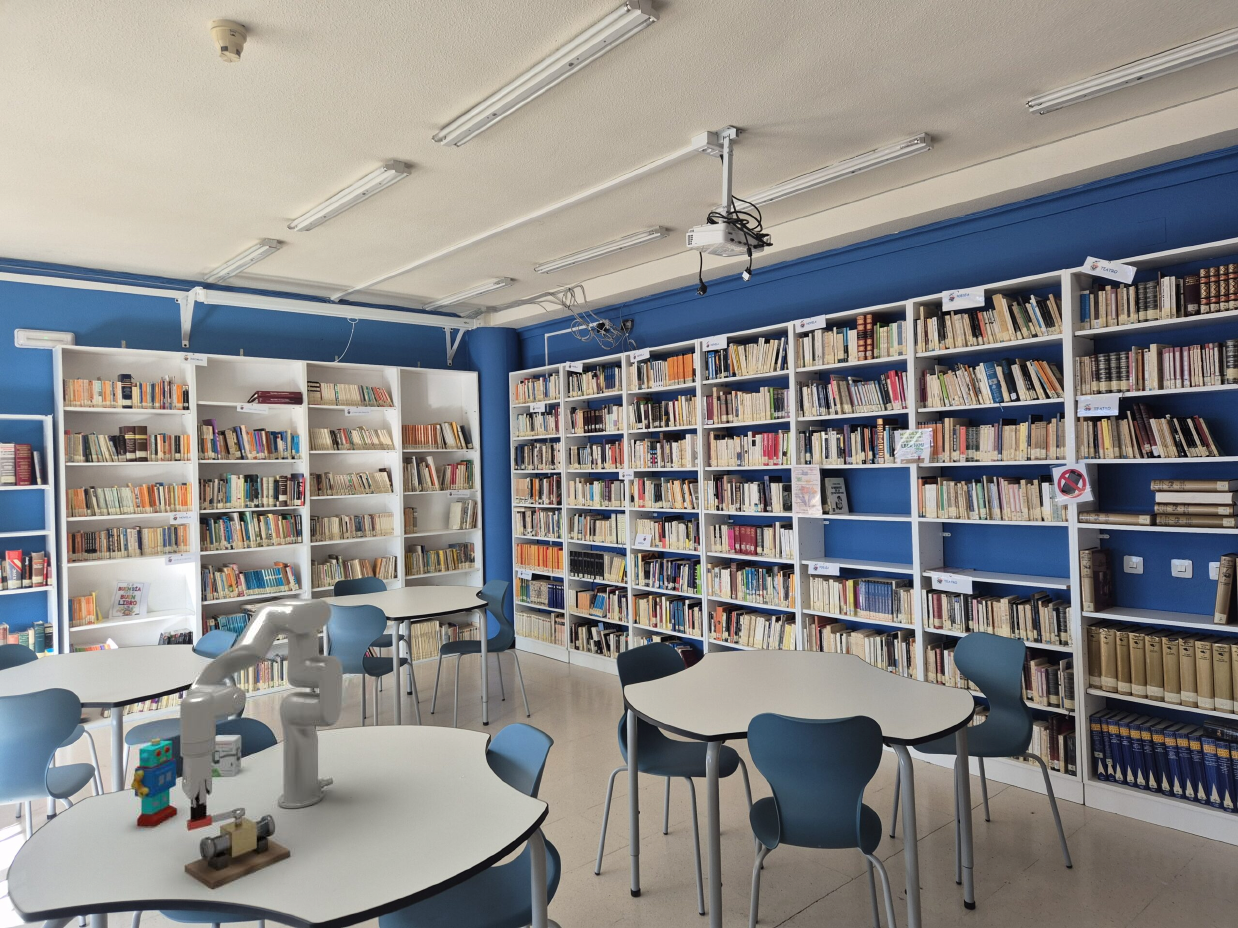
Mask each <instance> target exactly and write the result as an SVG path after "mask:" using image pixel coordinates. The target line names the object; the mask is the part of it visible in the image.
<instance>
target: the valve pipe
mask: <svg viewBox="0 0 1238 928" xmlns="http://www.w3.org/2000/svg"><path fill="white" fill-rule="evenodd" d="M275 832H276V823H275V820H274V818H273V816H272V815H271V814H266V815H263V816H262V817H261V818H260V819H259V820H256V821H252V820H251V819H249V818H247V817H245V816H242V817H239V818H234V820H233V821H231V822H228V823H224V824H222V825H220V826H219V835H216V836H214V837H213V836H206V837H203V838H201V840H200V842H199V853H200V856H201V859H202V858H203V860H204V861H208V866H210V867H212V868H213V869H215V870H217V871H219V870H221V869H224V868H226V867H228V856H230V857H232V858H233V857H235V856H238V855H240V854H243V853H245V852H248V851H250V850H252V851H254V852H255V853H257V854H261V853H263V852H266V851H268V839H269V837H271V836H274V834H275Z"/></svg>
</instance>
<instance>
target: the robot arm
mask: <svg viewBox="0 0 1238 928" xmlns="http://www.w3.org/2000/svg"><path fill="white" fill-rule="evenodd" d="M331 616H332V609H331V605H330V604H329V602H328V601H326V600H324V599H321V598H294V597H293V598H282V599H279V600H277V601H275V602H274V603H266V604H263V605H260V606H259V607H258V608H257V609H256V610H255V612H254V613H253V615H252V616H251V618H250V620H249V621H248V623H247V624H246V626H245V628H244V629H243V631H242V632H241V634H240V636H239V637H238V639H237V640H236V642H235V644H234V645H233V646H232V647H231V648H229V649H227V650H226V651H224V652H223V653H221V654H220V655H218V656H217V657H216V658H214V659H213V660H211V661H210V662H209V663H207V664H206V665H205V666H204V667H203V668H202V669H201V670H200V672H199V673H198V674H197V676H196V677H195V679H194V680H193V682H192V684H191V686H190V687H189V689H188V691H187V693H186V694H185V695H186V696H185V697H183V698H182V699H181V701H180V707H179V710H180V711H179V712H180V714H179V717H180V718H179V720H180V721H179V723H180V733H179V736H180V737H179V738H180V743H179V744H180V751H179V752H180V754H179V755H180V757H182V758H183V759H182V776H181V777H182V779H181V788H182V791H183V793H184V794H185V796H186V798H187V799H189V800H190V806H189V808H190V809H189V810H190V813H189V815H190V816H189V817H190V818H189V819H193V818H197V817H201V816H205V815H208V813H207V811H208V810H207V809H208V808H207V807H208V806H207V796H210V795H211V794H212V791H213V777H212V761H211V753H212V752H214V751H215V750H216V736H217V735H216V733H217V732H216V730H217V729H216V723H217V722H216V721H218V720H221V719H225V718H230V717H232V716H235V715H236V714H238V713H240V712H241V711H242V710H243V709H244V707H245V705H246V703H247V695H246V692H245V690H244V689H242V688H241V687H239V686H235V685H222V684H221V683H222V682H223V681H224V680H226V679H227V678H229V677H231V676H232V675H234V674H237V673H239V672H242V671H245V670H247V669H251V668H252V667H254V666H255V667H256V666H257V665H259V664H261V663H262V662H264V660H265V659H266V657H267V655H268V653H269V651H270V650H271V648H272V647H273V645H274V643H275V642H276V640H277V638H278V637H279V636H281V635H283V636H284V635H285V636H286V638H287V645H288V646H287V667H286V679H287V681H288V684H289V685H290V686H291V687H294V688H301V689H302V688H304V689H318V691H319V692H315V691H295V692H294V691H293V692H291V693H288V694H287V695H286V696H284V697H283V699H282V700H281V703H280V705H279V719H280V722H281V723H280V724H281V726H282V734H283V735H282V739H283V743H282V744H283V756H282V757H283V777H282V778H283V781H282V782H283V784H282V785H283V789H282V791H283V793H282V794H281V795H280V796H278V799H277V804H278V806H279V807H280V808H283V809H297V808H299V809H300V808H304V807H308V806H311V805H314V804H316V803H319V802H320V801H322V799H323V798H324V793H325V792H324V790H323V789H324V788H325V787H328V786H331V785H333V784H334V780H333V778H332V777H329V778H326V779H325V778H323V777H322V778H320V779H319V735H318V733H317V730H316V728H315V727H320V728H322V727H324V728H325V727H326V728H327V727H331V726H334V725H335V724H336V723H337V722H338V721H339V719H340V717H341V714H342V713H341V712H342V705H343V703H342V702H343V701H342V700H343V682H344V680H343V677H344V673H343V672H344V671H343V666H342V663H341V661H340V660H339V658H338V657H336V656H332V655H325V654H324V655H323V654H320V652H319V651H320V650H319V646H320V645H319V644H320V642H319V641H320V640H319V639H320V638H319V634H318V632H317V630H320V629H322V628H324V627H325V626H326V625H327V624H328V623H329V622H330V620H331Z"/></svg>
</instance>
